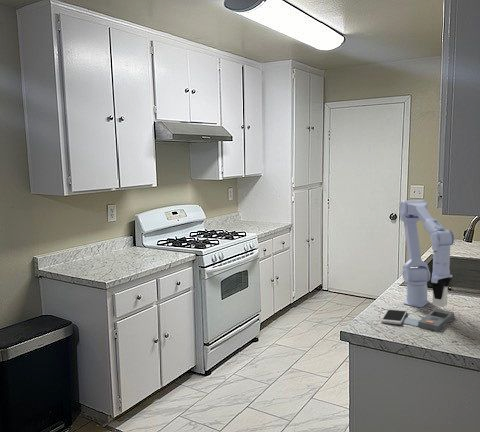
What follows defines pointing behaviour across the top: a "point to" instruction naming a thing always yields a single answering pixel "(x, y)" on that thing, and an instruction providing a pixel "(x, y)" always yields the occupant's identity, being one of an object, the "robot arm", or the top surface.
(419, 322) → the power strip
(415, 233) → the robot arm
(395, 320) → the smartphone
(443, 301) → the charger plug
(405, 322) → the sticky note
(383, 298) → the top surface
